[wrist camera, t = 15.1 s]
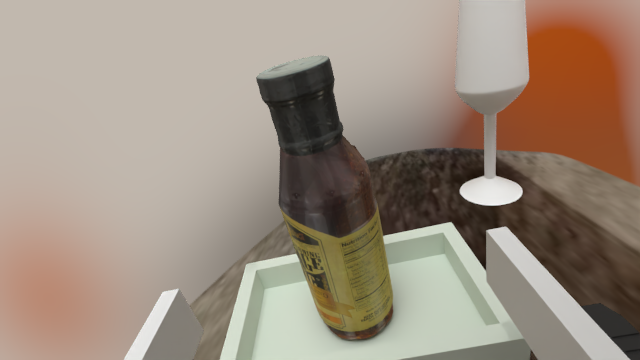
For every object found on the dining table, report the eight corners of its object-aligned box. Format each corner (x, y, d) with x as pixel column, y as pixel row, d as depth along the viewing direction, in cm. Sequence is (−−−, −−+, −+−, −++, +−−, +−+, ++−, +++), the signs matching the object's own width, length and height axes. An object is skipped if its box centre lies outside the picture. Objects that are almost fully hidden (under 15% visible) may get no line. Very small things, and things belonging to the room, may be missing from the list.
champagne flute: (530, 182, 38) (546, -58, 27) (511, 211, 34) (521, -55, 23) (472, 173, 42) (467, -34, 32) (450, 198, 39) (435, -28, 28)
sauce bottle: (314, 297, 28) (234, 74, 20) (378, 273, 29) (328, 47, 20) (333, 363, 23) (230, 88, 14) (413, 331, 23) (363, 49, 14)
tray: (453, 251, 31) (451, 222, 29) (528, 372, 20) (531, 337, 18) (257, 289, 32) (246, 264, 31) (230, 420, 22) (210, 391, 20)
